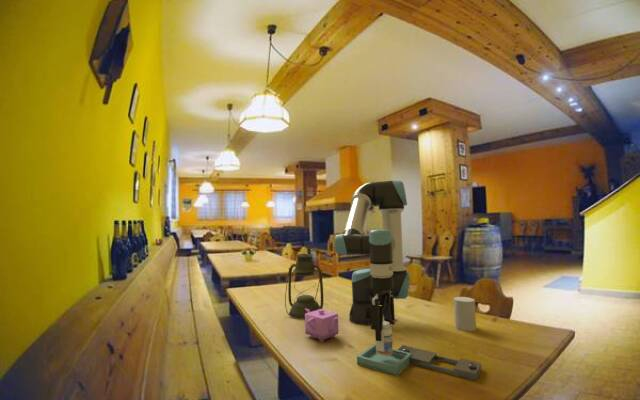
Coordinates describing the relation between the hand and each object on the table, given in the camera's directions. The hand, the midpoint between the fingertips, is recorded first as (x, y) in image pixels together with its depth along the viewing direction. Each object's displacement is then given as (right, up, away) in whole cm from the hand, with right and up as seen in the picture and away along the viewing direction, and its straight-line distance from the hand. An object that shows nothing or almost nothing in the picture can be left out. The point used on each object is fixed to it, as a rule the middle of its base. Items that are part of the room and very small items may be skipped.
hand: (384, 347), depth 105 cm
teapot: (-20, -7, +24) cm, 32 cm away
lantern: (-29, -9, +56) cm, 64 cm away
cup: (+41, -6, +31) cm, 51 cm away
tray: (0, -5, 0) cm, 5 cm away
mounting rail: (+16, -4, -2) cm, 17 cm away
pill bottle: (0, -2, 0) cm, 2 cm away
